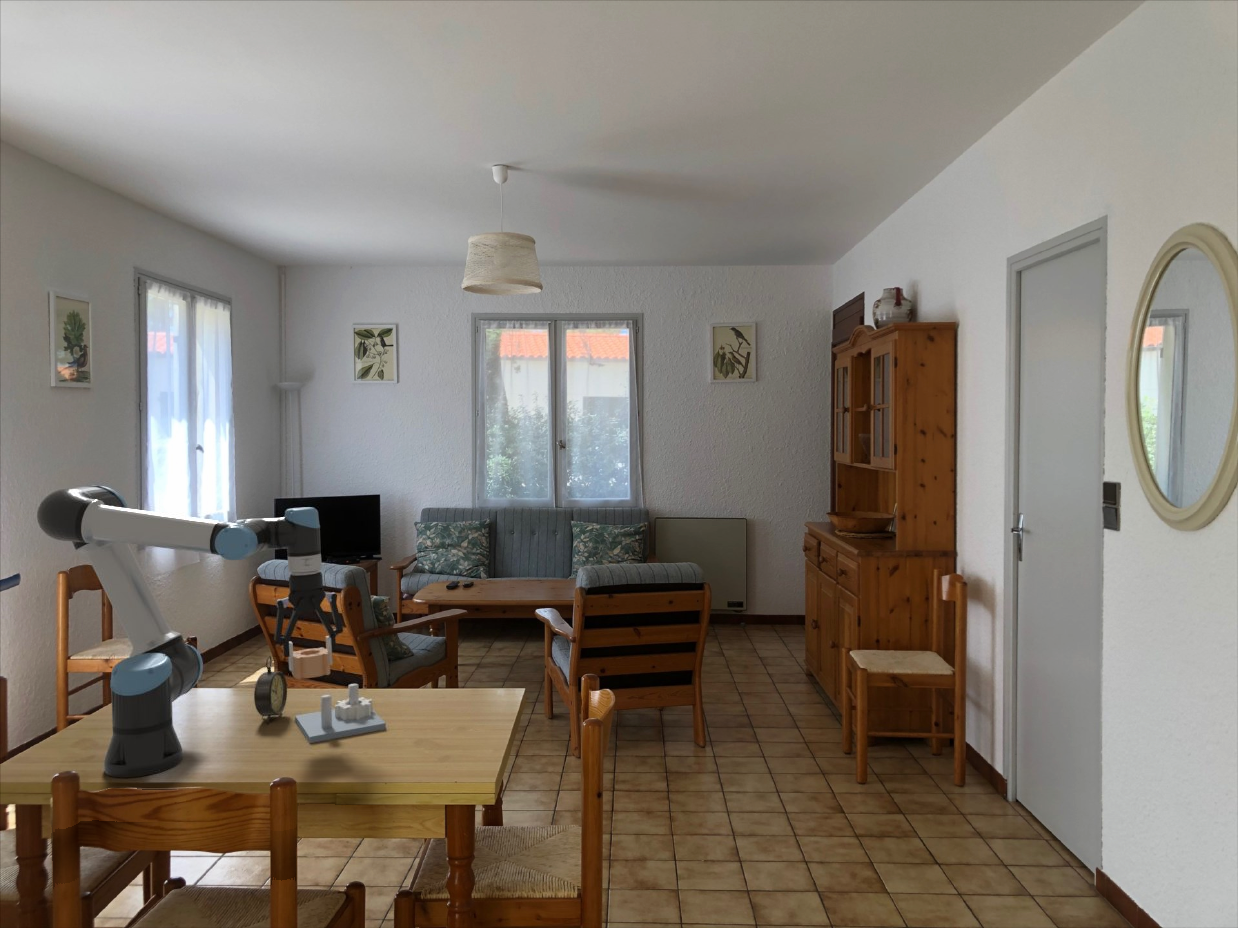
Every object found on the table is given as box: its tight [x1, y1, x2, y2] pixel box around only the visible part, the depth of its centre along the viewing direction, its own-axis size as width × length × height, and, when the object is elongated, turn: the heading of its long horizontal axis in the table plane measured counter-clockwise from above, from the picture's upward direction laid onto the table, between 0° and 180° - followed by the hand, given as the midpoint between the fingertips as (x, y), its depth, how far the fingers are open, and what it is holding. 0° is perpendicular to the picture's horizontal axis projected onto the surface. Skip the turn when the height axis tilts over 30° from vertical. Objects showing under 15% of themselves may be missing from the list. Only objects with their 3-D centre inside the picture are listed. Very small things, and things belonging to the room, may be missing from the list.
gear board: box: [294, 683, 387, 744], centre depth 214 cm, size 18×18×9 cm
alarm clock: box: [253, 655, 288, 725], centre depth 220 cm, size 11×5×16 cm, turn 0°
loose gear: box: [291, 647, 331, 680], centre depth 205 cm, size 8×8×5 cm
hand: (310, 666), depth 205 cm, fingers closed on loose gear, 8 cm apart
